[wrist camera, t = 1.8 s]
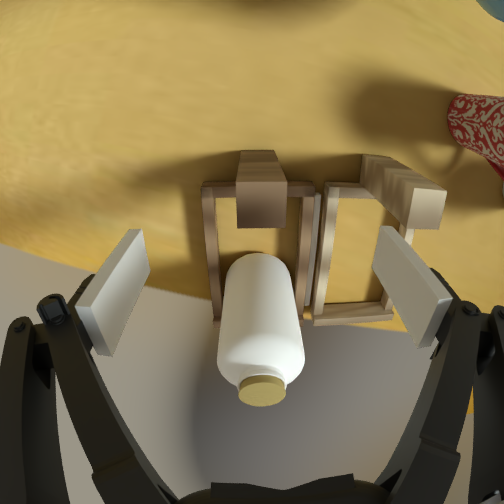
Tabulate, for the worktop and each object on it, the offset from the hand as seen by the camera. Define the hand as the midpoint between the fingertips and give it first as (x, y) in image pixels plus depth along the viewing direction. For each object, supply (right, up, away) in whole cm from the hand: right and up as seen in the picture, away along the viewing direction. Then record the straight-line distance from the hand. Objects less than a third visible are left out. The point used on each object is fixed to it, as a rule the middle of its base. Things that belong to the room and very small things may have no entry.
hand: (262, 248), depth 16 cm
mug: (+28, +16, +12) cm, 34 cm away
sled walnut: (0, +1, +20) cm, 20 cm away
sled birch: (+14, +1, +20) cm, 24 cm away
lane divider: (+7, 0, +21) cm, 22 cm away
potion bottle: (0, -3, +23) cm, 23 cm away
